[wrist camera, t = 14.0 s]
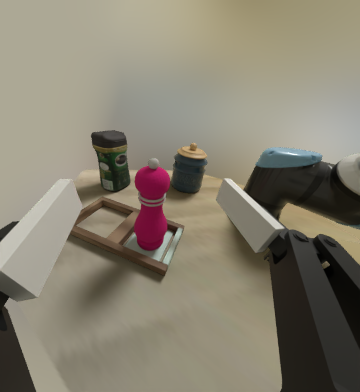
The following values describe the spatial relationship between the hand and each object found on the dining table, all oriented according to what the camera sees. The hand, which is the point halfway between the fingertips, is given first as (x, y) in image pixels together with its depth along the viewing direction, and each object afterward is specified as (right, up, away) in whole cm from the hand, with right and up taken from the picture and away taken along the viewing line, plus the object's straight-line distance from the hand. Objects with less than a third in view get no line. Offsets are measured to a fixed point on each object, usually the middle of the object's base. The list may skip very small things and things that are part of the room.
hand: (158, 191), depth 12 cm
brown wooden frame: (-11, -9, +21) cm, 25 cm away
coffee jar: (-22, +3, +37) cm, 43 cm away
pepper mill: (-5, -11, +19) cm, 23 cm away
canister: (+4, +4, +45) cm, 45 cm away
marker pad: (-5, -11, +20) cm, 23 cm away
